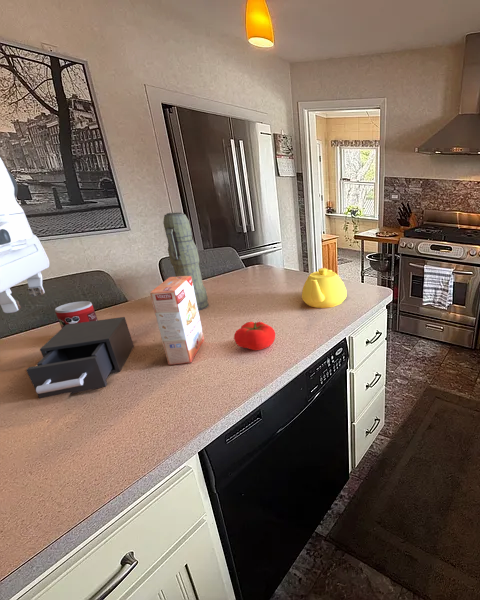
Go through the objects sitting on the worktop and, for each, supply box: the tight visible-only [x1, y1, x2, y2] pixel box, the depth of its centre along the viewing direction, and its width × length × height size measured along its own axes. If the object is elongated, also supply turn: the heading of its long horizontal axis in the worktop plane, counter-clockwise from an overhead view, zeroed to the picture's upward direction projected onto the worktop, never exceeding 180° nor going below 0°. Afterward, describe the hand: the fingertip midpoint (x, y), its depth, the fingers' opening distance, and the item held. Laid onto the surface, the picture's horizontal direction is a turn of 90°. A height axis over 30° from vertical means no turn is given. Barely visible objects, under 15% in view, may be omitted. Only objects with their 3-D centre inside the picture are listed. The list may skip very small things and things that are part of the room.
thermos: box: [162, 212, 209, 311], centre depth 118 cm, size 9×12×35 cm
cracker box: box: [149, 276, 205, 366], centre depth 90 cm, size 14×6×21 cm, turn 17°
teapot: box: [301, 267, 348, 309], centre depth 129 cm, size 25×18×14 cm
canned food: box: [54, 300, 98, 329], centre depth 98 cm, size 8×8×11 cm
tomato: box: [233, 321, 276, 351], centre depth 96 cm, size 10×11×6 cm
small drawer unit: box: [39, 316, 135, 375], centre depth 85 cm, size 15×13×10 cm
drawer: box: [25, 342, 114, 399], centre depth 76 cm, size 18×11×8 cm, turn 26°
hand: (26, 302), depth 63 cm, fingers open, 8 cm apart
